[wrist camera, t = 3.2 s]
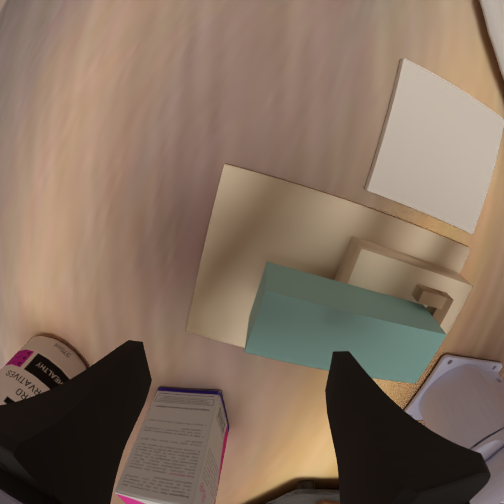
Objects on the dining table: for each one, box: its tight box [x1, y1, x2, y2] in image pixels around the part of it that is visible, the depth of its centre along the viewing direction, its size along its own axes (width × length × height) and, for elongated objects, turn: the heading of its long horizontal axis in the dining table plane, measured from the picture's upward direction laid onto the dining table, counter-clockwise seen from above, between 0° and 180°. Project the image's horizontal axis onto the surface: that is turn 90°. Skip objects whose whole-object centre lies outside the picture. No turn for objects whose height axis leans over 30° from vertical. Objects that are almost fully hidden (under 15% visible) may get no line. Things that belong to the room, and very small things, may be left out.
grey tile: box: [364, 58, 504, 235], centre depth 16 cm, size 9×9×1 cm
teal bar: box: [244, 262, 447, 384], centre depth 16 cm, size 10×4×4 cm, turn 75°
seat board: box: [186, 164, 472, 377], centre depth 19 cm, size 18×12×4 cm, turn 75°
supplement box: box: [115, 387, 229, 504], centre depth 20 cm, size 6×6×12 cm
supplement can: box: [0, 336, 87, 405], centre depth 18 cm, size 8×8×15 cm
